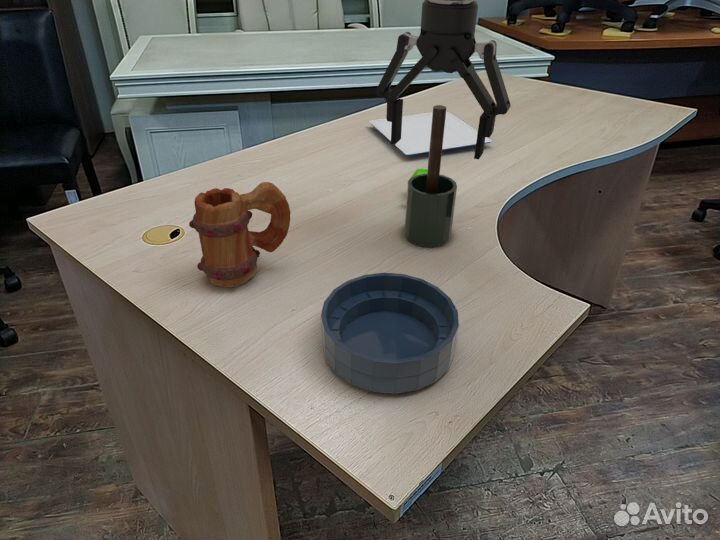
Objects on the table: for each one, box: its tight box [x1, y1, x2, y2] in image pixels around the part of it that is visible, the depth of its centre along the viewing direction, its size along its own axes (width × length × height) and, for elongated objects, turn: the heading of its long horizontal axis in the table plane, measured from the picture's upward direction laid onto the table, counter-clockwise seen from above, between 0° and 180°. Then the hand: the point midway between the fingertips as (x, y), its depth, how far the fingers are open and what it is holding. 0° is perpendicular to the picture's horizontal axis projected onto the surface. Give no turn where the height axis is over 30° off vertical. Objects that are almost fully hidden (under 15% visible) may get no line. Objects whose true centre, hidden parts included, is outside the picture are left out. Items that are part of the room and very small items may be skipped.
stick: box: [425, 104, 447, 194], centre depth 86 cm, size 2×2×22 cm
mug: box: [188, 181, 291, 288], centre depth 79 cm, size 15×8×15 cm, turn 108°
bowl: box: [320, 272, 460, 395], centre depth 68 cm, size 17×17×6 cm
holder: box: [404, 173, 458, 249], centre depth 90 cm, size 8×8×10 cm
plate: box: [368, 110, 493, 157], centre depth 129 cm, size 22×22×2 cm
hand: (436, 148), depth 83 cm, fingers open, 13 cm apart
